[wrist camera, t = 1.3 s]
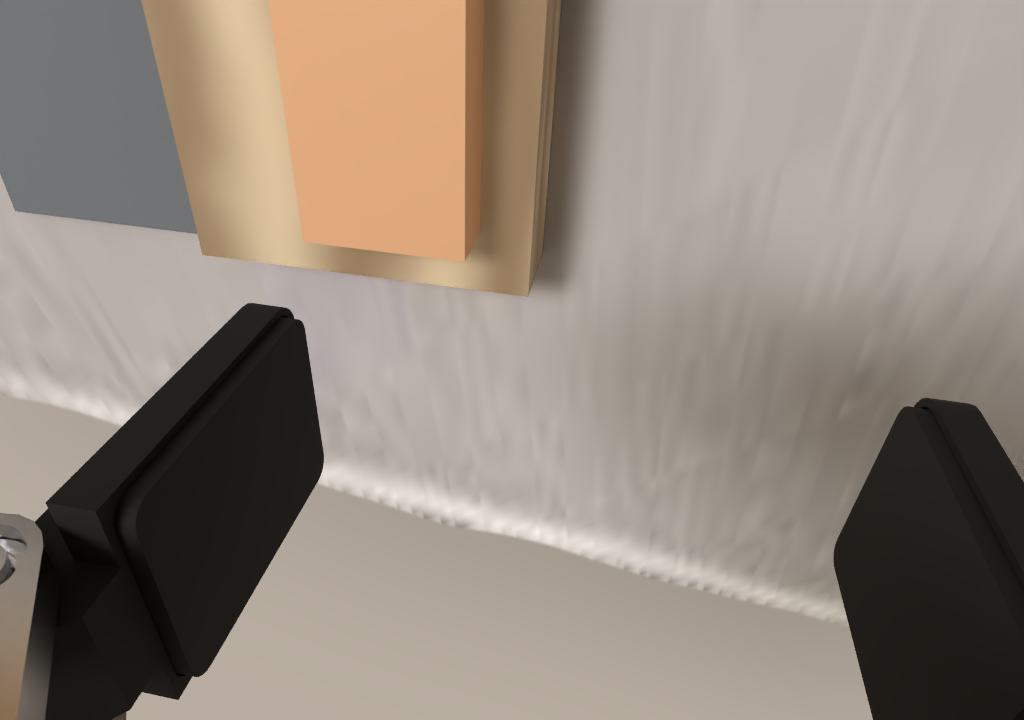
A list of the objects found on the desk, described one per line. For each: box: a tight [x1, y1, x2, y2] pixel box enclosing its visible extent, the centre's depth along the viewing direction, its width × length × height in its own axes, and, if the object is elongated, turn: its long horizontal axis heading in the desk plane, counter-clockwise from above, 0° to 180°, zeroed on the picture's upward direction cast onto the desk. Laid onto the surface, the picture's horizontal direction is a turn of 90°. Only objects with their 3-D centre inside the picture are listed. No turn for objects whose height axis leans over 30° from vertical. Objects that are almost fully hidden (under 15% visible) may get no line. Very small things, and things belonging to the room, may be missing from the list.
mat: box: [0, 0, 197, 234], centre depth 29 cm, size 12×16×1 cm
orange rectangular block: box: [268, 0, 484, 262], centre depth 23 cm, size 6×9×2 cm, turn 177°
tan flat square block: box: [141, 0, 562, 297], centre depth 26 cm, size 14×14×4 cm
